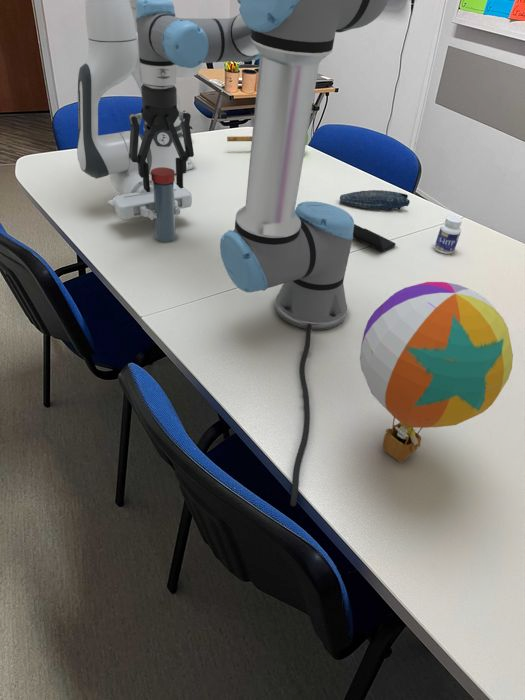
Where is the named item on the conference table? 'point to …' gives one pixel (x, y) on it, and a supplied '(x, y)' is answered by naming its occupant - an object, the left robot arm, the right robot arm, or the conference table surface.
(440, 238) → the pill bottle
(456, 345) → the toy
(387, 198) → the fish model
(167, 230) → the blue-grey tall cylinder
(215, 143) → the conference table surface
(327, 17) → the right robot arm
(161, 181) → the lid
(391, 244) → the handheld gaming console
